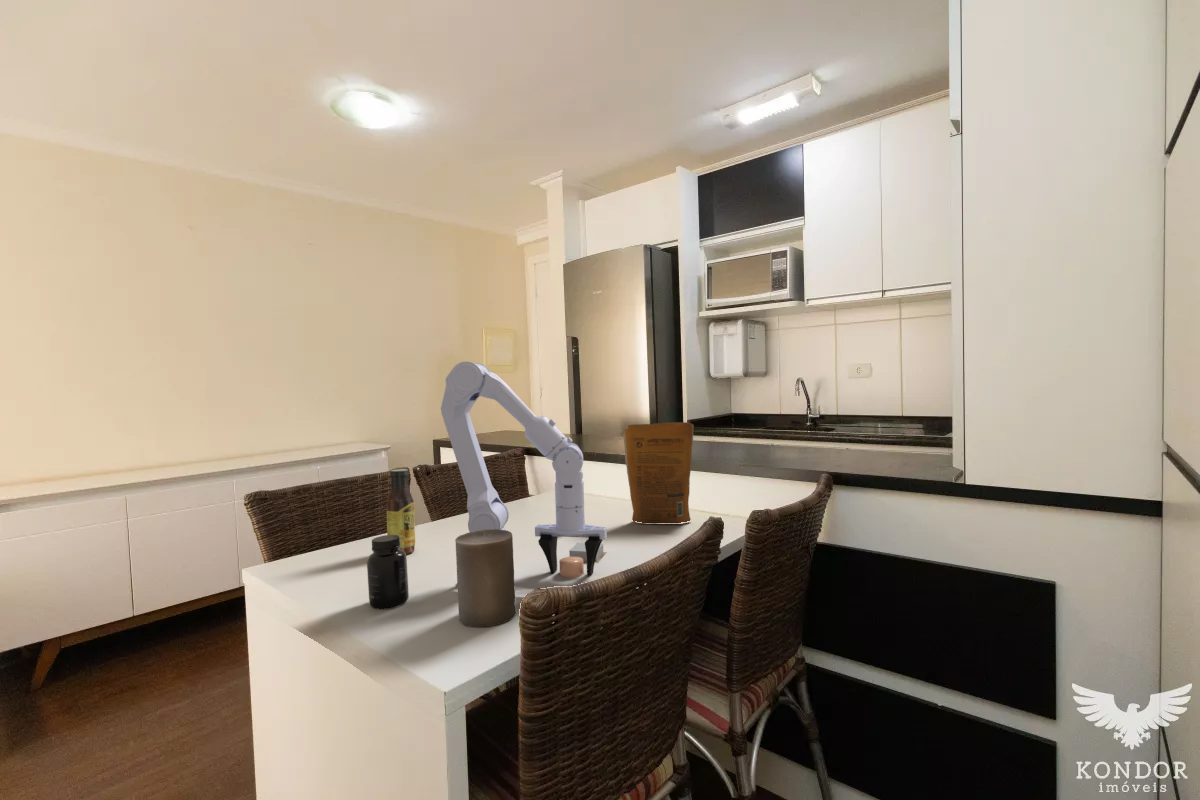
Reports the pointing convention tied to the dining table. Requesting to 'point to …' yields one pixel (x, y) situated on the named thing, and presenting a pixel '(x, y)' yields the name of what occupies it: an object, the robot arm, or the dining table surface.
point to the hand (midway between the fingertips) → (571, 572)
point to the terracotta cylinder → (571, 567)
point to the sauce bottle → (401, 511)
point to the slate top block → (584, 551)
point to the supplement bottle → (387, 573)
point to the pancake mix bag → (659, 470)
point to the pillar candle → (485, 577)
